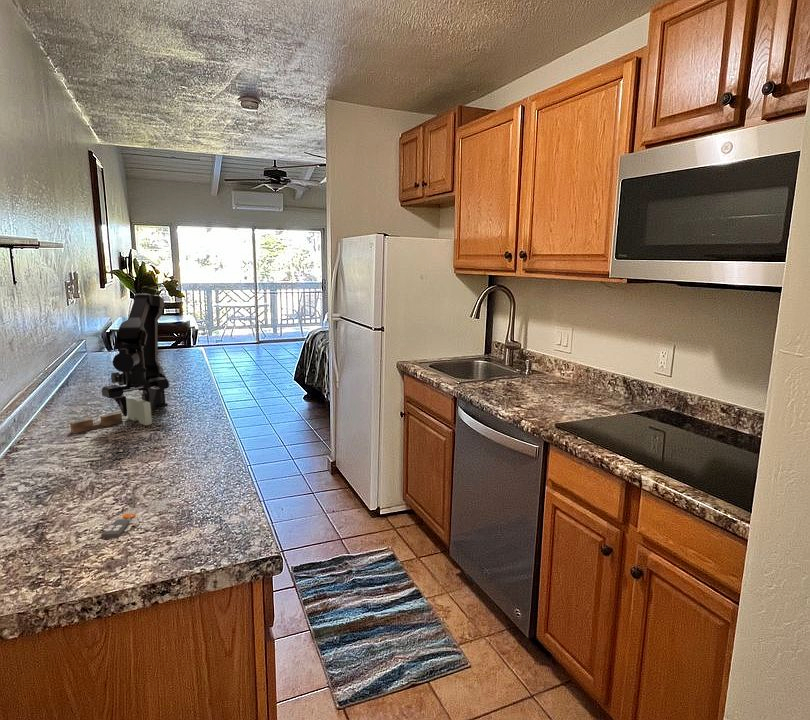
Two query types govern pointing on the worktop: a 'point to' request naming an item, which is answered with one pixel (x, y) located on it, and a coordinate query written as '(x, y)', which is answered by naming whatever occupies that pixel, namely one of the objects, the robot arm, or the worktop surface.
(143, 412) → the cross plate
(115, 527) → the key chain
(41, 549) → the worktop surface
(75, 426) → the walnut rail
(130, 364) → the robot arm
